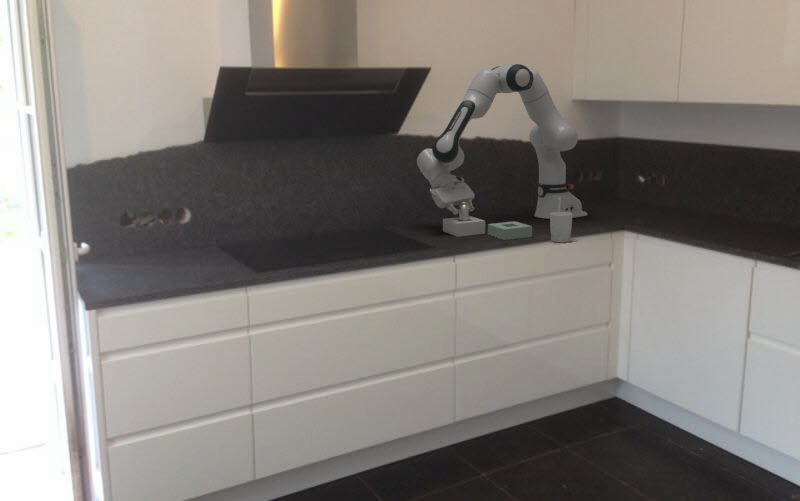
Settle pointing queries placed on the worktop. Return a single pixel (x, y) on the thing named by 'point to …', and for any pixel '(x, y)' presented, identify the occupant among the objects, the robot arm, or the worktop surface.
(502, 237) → the socket block
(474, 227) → the grey block with hole
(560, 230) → the white cup
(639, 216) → the worktop surface
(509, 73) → the robot arm
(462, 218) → the silver gold-banded cylinder
